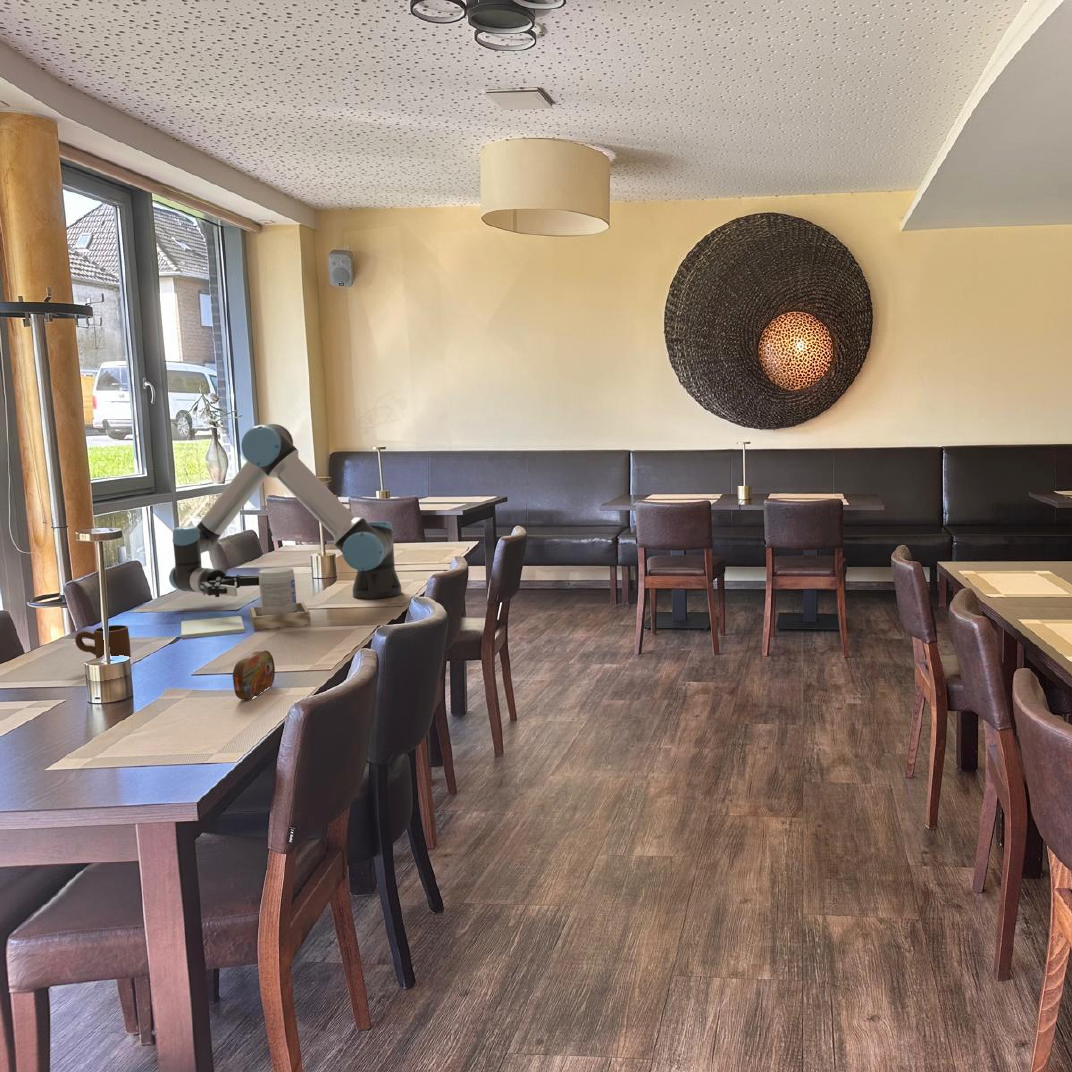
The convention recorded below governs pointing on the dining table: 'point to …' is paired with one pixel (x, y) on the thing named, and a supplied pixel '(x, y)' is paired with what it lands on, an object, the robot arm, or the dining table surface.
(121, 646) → the mug
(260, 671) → the tin
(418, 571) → the dining table surface
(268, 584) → the supplement tub
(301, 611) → the holder frame
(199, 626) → the board
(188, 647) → the dining table surface
